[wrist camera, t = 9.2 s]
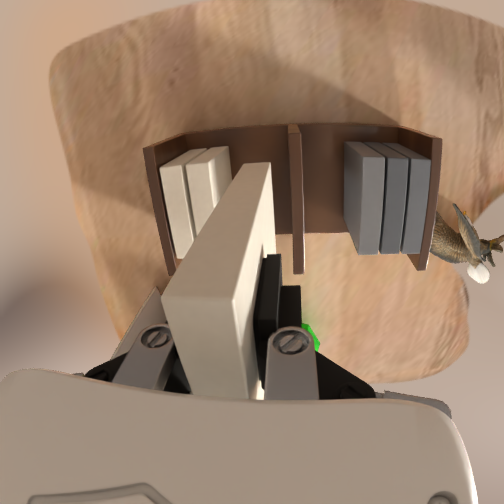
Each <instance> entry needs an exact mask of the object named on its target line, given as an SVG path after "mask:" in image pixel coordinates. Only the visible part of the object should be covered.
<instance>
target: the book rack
mask: <svg viewBox="0 0 504 504" xmlns="http://www.w3.org/2000/svg"><path fill="white" fill-rule="evenodd" d="M344 142H362V143H364V142H378V143H381V144H382V143H398V144H400V145H402V146H404V147H406V148H408V149H410V150H412V151H414V152H416V153H418V154H420V155H422V156H424V157H426V158H428V159H430V160H431V165H430V178H429V190H428V199H427V208H426V216H425V223H424V230H423V236H422V243H421V248H420V253H418V254H407V255H408V257H409V258H410V260H411V262H412V263H413V265H414V266H415V268H416V270H417V271H424V270H426V267H427V262H428V257H429V252H430V247H431V241H432V235H433V229H434V223H435V216H436V209H437V201H438V192H439V182H440V171H441V157H442V139H441V138H438V137H435V136H432V135H429V134H426V133H423V132H420V131H417V130H414V129H410V128H407V127H403V126H393V125H377V124H350V123H304V124H276V125H259V126H245V127H233V128H223V129H213V130H204V131H196V132H188V133H181V134H179V135H176V136H173V137H170V138H168V139H165V140H162V141H160V142H157V143H155V144H152V145H150V146H147V147H145V148H143V153H144V159H145V165H146V171H147V176H148V182H149V187H150V192H151V197H152V203H153V208H154V212H155V217H156V222H157V227H158V231H159V236H160V240H161V245H162V249H163V253H164V257H165V262H166V266H167V270H168V274H169V276H173V275H174V273H175V272H176V270H177V268H178V266H179V265H180V263H181V261H182V260H183V258H177V256H176V252H175V247H174V242H173V237H172V233H171V228H170V223H169V218H168V212H167V207H166V202H165V196H164V191H163V185H162V179H161V174H160V167H162V166H163V165H165V164H167V163H168V162H170V161H172V160H173V159H175V158H177V157H179V156H180V155H182V154H184V153H186V152H187V151H189V150H193V149H202V148H207V150H208V149H210V148H212V147H222V146H228V147H229V156H230V165H231V174H232V180H233V179H234V177H235V176H236V174H237V173H238V171H239V170H240V168H241V167H242V165H243V164H246V163H263V162H270V163H271V177H272V192H273V207H274V224H275V234H293V273H294V274H295V275H296V274H304V273H305V255H304V234H311V233H349V230H348V228H347V225H346V223H345V221H344V218H343V216H344Z"/></svg>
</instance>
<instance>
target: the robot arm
mask: <svg viewBox="0 0 504 504" xmlns="http://www.w3.org/2000/svg"><path fill="white" fill-rule="evenodd" d="M253 330H254V339H255V348H256V357H257V365H258V374H259V381H261V387H262V389H263V390H264V400H258V399H237V398H222V397H210V396H199V395H193V393H192V390H191V388H190V385H189V382H188V380H187V377H186V374H185V371H184V369H183V366H182V363H181V360H180V357H179V355H178V352H177V349H176V346H175V343H174V340H173V337H172V334H171V331H170V328H169V325H168V321H167V320H166V322H165V323H157V324H153V325H150V326H148V327H146V328H145V329H143V330H142V331H141V332H140V333H139V335H138V336H137V338H136V340H135V341H134V343H133V345H132V347H131V348H130V350H129V351H128V352H126V353H124V354H122V355H120V356H118V357H116V358H114V359H112V360H110V361H107V362H105V363H103V364H101V365H99V366H97V367H94V368H93V369H91V370H89V371H88V372H87V373H86V374H85V375H84V374H83V373H76V374H69V373H64V372H59V371H54V370H48V369H35V368H34V369H33V368H32V369H31V368H30V369H22V370H18V371H14V372H11V373H10V374H8V375H7V376H6V377H4V379H3V380H2V381H1V382H0V504H478V500H477V493H476V488H475V483H474V479H473V474H472V470H471V465H470V461H469V458H468V455H467V452H466V449H465V446H464V443H463V441H462V438H461V436H460V434H459V432H458V430H457V428H456V426H455V424H454V423H453V421H452V420H451V411H450V409H449V407H448V406H447V404H445V403H444V402H443V401H440V400H437V399H431V398H425V397H418V396H412V395H406V394H400V393H395V392H390V391H384V393H378V392H374V390H373V388H372V387H371V386H370V385H368V384H367V383H366V382H364V381H362V380H361V379H359V378H358V377H356V376H354V375H353V374H351V373H350V372H348V371H347V370H345V369H343V368H342V367H340V366H339V365H337V364H336V363H334V362H333V361H331V360H329V359H328V358H326V357H325V356H323V355H322V354H320V353H319V352H317V351H316V350H315V345H314V339H313V336H312V335H311V334H310V332H309V331H307V330H305V329H304V328H302V319H301V288H300V285H296V286H282V263H281V254H267V258H263V259H262V265H261V271H260V277H259V283H258V289H257V295H256V301H255V307H254V313H253Z"/></svg>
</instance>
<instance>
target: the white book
mask: <svg viewBox="0 0 504 504" xmlns="http://www.w3.org/2000/svg"><path fill="white" fill-rule="evenodd" d="M267 254H276V241H275V224H274V207H273V192H272V177H271V163H270V162H263V163H246V164H243V165H242V167H241V168H240V170H239V171H238V173H237V174H236V176H235V177H234V179H233V180H232V182H231V184H230V185H229V187H228V188H227V190H226V191H225V193H224V194H223V196H222V197H221V199H220V200H219V202H218V204H217V205H216V207H215V208H214V210H213V211H212V213H211V215H210V216H209V218H208V219H207V221H206V222H205V224H204V226H203V227H202V229H201V230H200V232H199V234H198V235H197V237H196V239H195V240H194V242H193V243H192V245H191V247H190V248H189V250H188V252H187V253H186V255H185V257H184V258H183V260H182V261H181V263H180V265H179V266H178V268H177V270H176V272H175V273H174V275H173V277H172V278H171V280H170V282H169V283H168V285H167V287H166V288H165V290H164V292H163V294H162V295H161V302H162V305H163V309H164V312H165V315H166V318H167V321H168V325H169V328H170V331H171V334H172V337H173V340H174V343H175V346H176V349H177V352H178V355H179V357H180V360H181V363H182V366H183V369H184V371H185V374H186V377H187V380H188V382H189V385H190V388H191V390H192V393H193V395H199V396H210V397H222V398H237V399H258V400H264V390H263V389H262V387H261V381H259V374H258V365H257V357H256V348H255V339H254V330H253V313H254V307H255V301H256V295H257V289H258V283H259V277H260V271H261V265H262V259H263V258H267Z"/></svg>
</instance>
